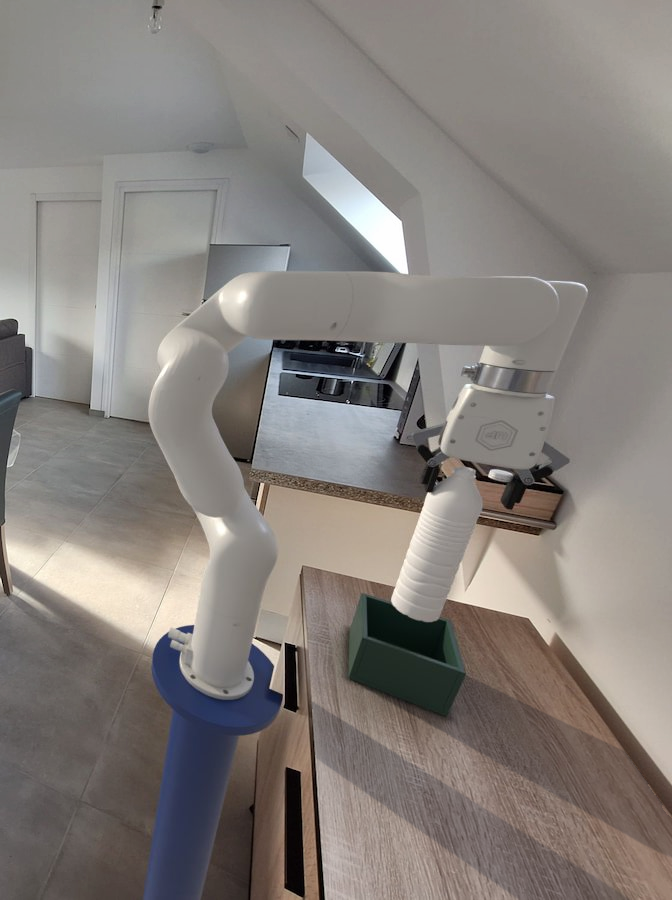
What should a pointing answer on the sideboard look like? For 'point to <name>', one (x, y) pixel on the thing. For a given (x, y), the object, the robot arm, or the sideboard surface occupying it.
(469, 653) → the sideboard surface
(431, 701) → the tote
